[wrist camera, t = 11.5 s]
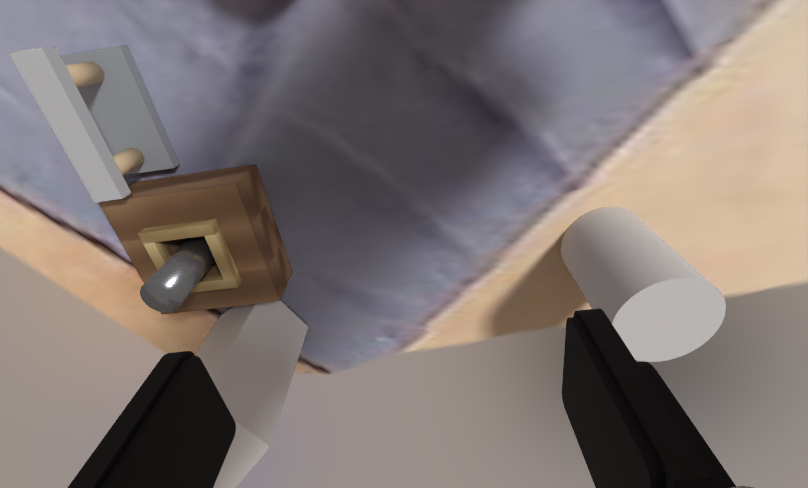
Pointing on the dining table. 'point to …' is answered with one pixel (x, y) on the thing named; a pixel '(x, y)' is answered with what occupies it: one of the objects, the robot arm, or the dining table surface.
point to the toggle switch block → (206, 234)
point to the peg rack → (98, 115)
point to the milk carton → (252, 376)
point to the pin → (178, 275)
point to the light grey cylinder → (641, 285)
